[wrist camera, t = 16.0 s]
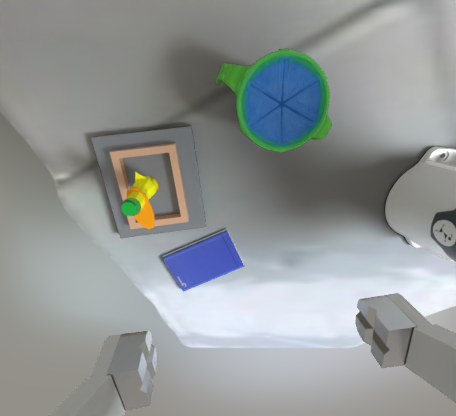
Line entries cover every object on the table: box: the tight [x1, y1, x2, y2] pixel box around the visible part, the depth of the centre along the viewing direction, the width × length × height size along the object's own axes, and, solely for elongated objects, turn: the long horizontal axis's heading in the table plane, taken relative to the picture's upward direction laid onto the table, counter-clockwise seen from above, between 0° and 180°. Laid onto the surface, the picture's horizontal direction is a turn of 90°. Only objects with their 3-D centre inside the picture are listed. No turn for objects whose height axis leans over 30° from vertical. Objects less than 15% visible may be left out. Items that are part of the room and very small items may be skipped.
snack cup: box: [215, 49, 332, 152], centre depth 34 cm, size 16×10×10 cm
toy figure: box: [121, 172, 159, 229], centre depth 34 cm, size 7×4×12 cm, turn 19°
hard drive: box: [162, 229, 244, 291], centre depth 47 cm, size 2×8×12 cm
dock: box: [91, 126, 206, 238], centre depth 40 cm, size 14×16×3 cm
